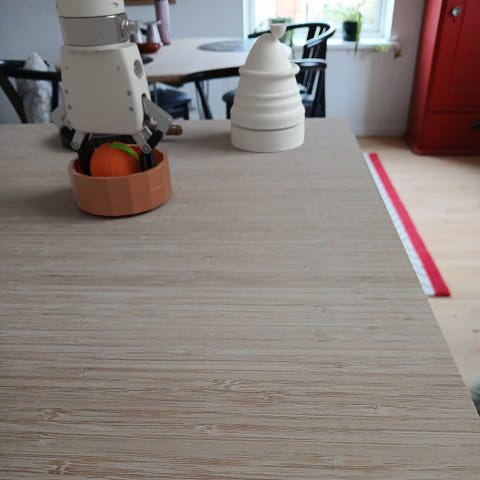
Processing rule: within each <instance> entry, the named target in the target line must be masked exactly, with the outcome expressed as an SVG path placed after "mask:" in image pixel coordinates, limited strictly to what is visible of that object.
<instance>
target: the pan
mask: <svg viewBox="0 0 480 480" xmlns="http://www.w3.org/2000/svg"><path fill="white" fill-rule="evenodd" d="M67 120H68V122H69V123H70V121H69V119H67ZM147 127H148V128H149V129H150V131H151V132H152V134H153V133H154V132H155V130H156V127H157V123H151V124H149V125H147ZM183 132H184V129H183V127H182V125H179V124H171V125H170V127H169V129H168V131H167V132H166V135H165V136H171V137H173V136H175V137H179V136H181V135H182V134H183ZM58 133H59V138H60V142H61V146H62V147H63V148H65V149H68V150H70V151H73V150H74V151H73V152H76V151H77V150H75V149H74V148H73V147H72V145H71V142H69V141H68V140H67V139H66V138H65V137H64V136H63V135H62V134H61V131H60V129H58ZM89 142H90V143H93V145H94V147H95V149H98V148H99V147H100V146H101V145H103V144H105V143H109V142H121V143H123V144H125V145H127V144H134V145H138V144H137V143H136V141H135V140H134V139H133V137H132V136H131V135H120V134H98V133H92V135H91V137H90V140H89Z"/></svg>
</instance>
